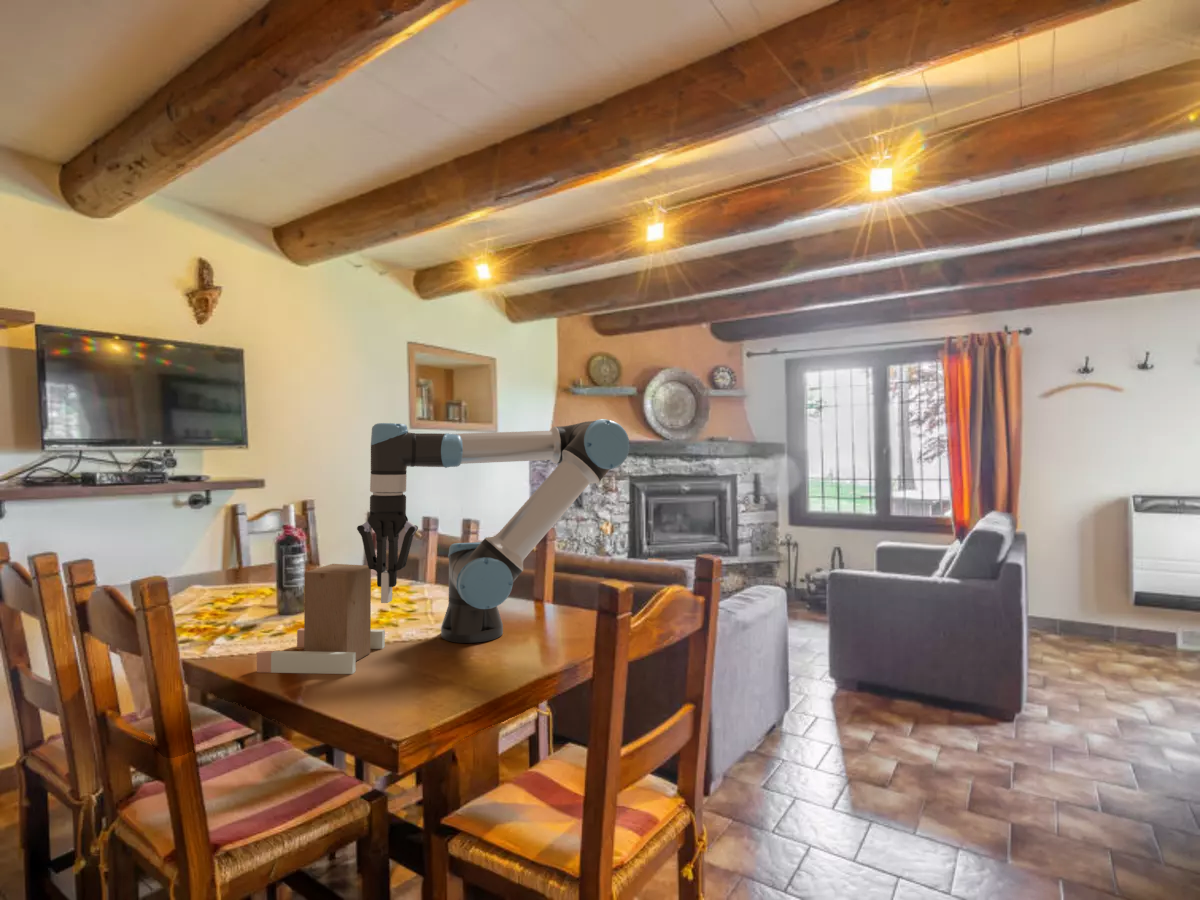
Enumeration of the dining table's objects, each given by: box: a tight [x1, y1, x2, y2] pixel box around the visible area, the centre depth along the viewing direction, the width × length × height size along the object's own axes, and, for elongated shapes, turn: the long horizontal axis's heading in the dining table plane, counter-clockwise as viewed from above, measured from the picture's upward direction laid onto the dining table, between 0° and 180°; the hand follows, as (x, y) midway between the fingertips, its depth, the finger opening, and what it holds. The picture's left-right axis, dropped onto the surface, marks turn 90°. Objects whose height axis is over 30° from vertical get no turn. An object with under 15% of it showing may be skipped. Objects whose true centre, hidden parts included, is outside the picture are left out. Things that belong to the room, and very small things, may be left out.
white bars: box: [256, 627, 386, 675], centre depth 141 cm, size 20×18×4 cm
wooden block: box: [303, 563, 372, 662], centre depth 141 cm, size 10×10×20 cm
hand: (386, 601), depth 140 cm, fingers closed
